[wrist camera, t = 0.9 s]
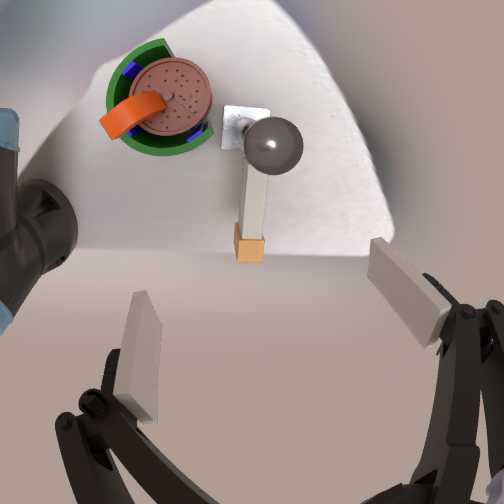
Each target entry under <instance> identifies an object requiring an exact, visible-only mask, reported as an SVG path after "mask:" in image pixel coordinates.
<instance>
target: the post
mask: <svg viewBox="0 0 504 504" xmlns="http://www.w3.org/2000/svg"><path fill="white" fill-rule="evenodd" d="M221 149H228V150H243V151H244V154H245V156H246V158H247V160H248V161H249V163H250V164H251V165H252V166H253V167H254V168H255V169H256V170H258V171H259V172H262V173H264V174H268V175H279V174H283V173H285V172H288V171H289V170H291V169H292V168H293V167H294V166H295V165H296V164H297V163H298V162H299V160H300V158H301V156H302V153H303V139H302V136H301V133H300V132H299V130H298V129H297V127H296V126H295V125H294V124H292V123H291V122H289V121H288V120H285V119H282V118H278V117H270V109H264V108H254V107H242V106H226V105H224V116H223V129H222V142H221Z"/></svg>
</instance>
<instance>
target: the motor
mask: <svg viewBox="0 0 504 504" xmlns="http://www.w3.org/2000/svg"><path fill="white" fill-rule="evenodd" d="M211 104H212V94H211V90H210V84H209V81H208V78H207V76H206V75H205V73H204V72H203V71H202V69H201V68H200V67H199V66H197V65H196V64H194V63H193V62H191V61H189V60H186V59H182V58H175V56H174V54H173V53H172V51H171V49H170V48H169V46H168V44H167V43H166V41H165V39H164V38H161V39H157V40H154V41H151V42H148V43H146V44H144V45H142V46H140V47H138V48H137V49H135V50H134V51H133V52H131V53H130V54H129V55H128V56H127V57H126V58H125V59H124V60H123V61H122V62H121V63H120V64H119V66H118V67H117V69H116V70H115V72H114V74H113V76H112V78H111V80H110V83H109V86H108V90H107V96H106V108H107V114H106V115H105V116H104V117H102V118H101V119H100V120H99V121H100V123H101V125H102V126H103V128H104V129H105V131H106V132H107V134H108V135H109V137H110V138H111V140H114V139H117V138H120V139H121V140H122V141H123V142H125V143H126V144H127V145H128V146H130V147H131V148H133V149H135V150H137V151H139V152H142V153H145V154H149V155H154V156H172V155H177V154H181V153H184V152H187V151H190V150H192V149H194V148H196V147H197V146H199V145H201V144H202V143H204V142H205V141H206V140H207V139H209V138H210V137H211V136H212V135H213V134H214V133H213V130H212V127H211V124H210V123H209V122H208V121H207V122H206V123H205V124H203V123H202V124H200V125H199V126H197V127H196V128H195V129H194V130H193V131H191V132H188V133H182V132H184V131H187V130H188V129H190V128H192V127H194V126H196V125H198V124H199V123H200V122H201V121H203V120H204V118H205V117H206V116H207V114H208V113H209V110H210V108H211Z"/></svg>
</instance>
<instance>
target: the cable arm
mask: <svg viewBox="0 0 504 504" xmlns="http://www.w3.org/2000/svg"><path fill="white" fill-rule="evenodd" d="M268 178H269V175H268V174H264V173H262V172H259V171H258V170H256V169H255V168H254V167H253V166H252V165H251V164H250V163H249V161H248V160H247V158H246V157H244V158H243V170H242V182H241V193H240V206H239V218H238V222H235V232H234V246H235V252H236V257H237V262H238V263H262V258H263V251H264V243H265V240H264V238H263V235H262V230H263V221H264V213H265V204H266V196H267V187H268Z"/></svg>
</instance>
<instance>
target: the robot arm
mask: <svg viewBox="0 0 504 504" xmlns="http://www.w3.org/2000/svg"><path fill="white" fill-rule="evenodd" d="M18 135H19V117H18V115H17V113H16V112H15V111H14V110H12V109H8V108H0V336H1V335H2V334H3V332H4V331H5V329H6V328H7V326H8V325H9V324H11V323H12V321H13V318H14V316H15V315H16V313H17V311H18V310H19V308H20V307H21V305H22V303H23V302H24V300H25V299H26V297H27V296H28V294H29V293H30V291H31V290H32V288H33V287H34V285H35V284H36V282H37V281H38V279H39V278H40V277H41V275H43V274H45V273H47V272H49V271H51V270H53V269H55V268H56V267H58V266H60V265H61V264H62V263H63V262H65V261H66V259H67V258H68V257H69V255H70V254H71V252H72V251H73V249H74V247H75V244H76V240H77V222H76V217H75V214H74V211H73V209H72V207H71V205H70V203H69V201H68V200H67V198H66V197H65V196H64V194H63V193H62V192H61V191H60V190H59V189H58V188H56V187H55V186H54V185H52V184H50V183H48V182H45V181H42V180H32V181H28V182H26V183H24V184H22V185H21V186H19V187H18V188H17V166H18V152H19V151H20V148H19V147H18V137H19V136H18ZM367 277H368V278H369V279H370V281H371V282H372V283H373V284H374V285H375V287H376V288H377V289H378V290H379V292H380V293H381V294H382V295H383V296H384V298H385V299H386V300H387V301H388V303H389V304H390V305H391V307H392V308H393V309H394V310H395V312H396V313H397V314H398V315H399V317H400V318H401V319H402V321H403V322H404V323H405V325H406V326H407V327H408V328H409V330H410V331H411V332H412V334H413V335H414V336H415V338H416V339H417V340H418V342H419V343H420V345H421V346H422V347H423V348H424V350H426V349H428V348H430V347H432V346H434V345H435V344H436V342H437V340H438V338H439V337H440V338H441V340H442V343H441V345H440V347H439V349H438V351H437V354H436V355H438V354H439V352H440V360H439V369H438V378H437V385H436V392H435V398H434V404H433V409H432V415H431V420H430V424H429V429H428V433H427V438H426V442H425V445H424V449H423V453H422V457H421V460H420V462H419V465H418V466H417V468H416V469H415V471H414V473H413V475H412V477H411V481H410V483H409V484H405V485H402V483H400V484H398V485H396V486H394V487H392V488H390V489H388V490H386V491H383V492H381V493H379V494H377V495H375V496H373V497H371V498H369V499H367V500H365V501H364V502H362V503H361V504H484V503H480V502H476V501H473V500H470V496H471V492H472V489H473V485H474V481H475V477H476V472H477V468H478V463H479V457H480V448H479V447H478V446H476V435H477V427H478V418H479V407H480V390H481V392H482V398H483V404H484V411H485V419H486V428H487V439H488V456H489V468H490V473H491V478H492V480H491V482H490V484H489V485H488V486H487V488H486V494H487V495H489V498H488V501H487V503H486V504H504V305H503V304H502V303H501V302H499V301H497V300H490V301H489V302H488V303H487V305H486V307H485V308H483V309H475V308H474V307H472V306H471V305H468V304H460V303H458V301H457V300H456V299H455V298H454V297H453V296H452V295H451V294H450V293H449V292H448V291H447V290H446V289H444V287H443V286H442V285H441V284H439V282H438V281H437V280H436V279H435V278H434V277H432V276H430V275H428V274H426V273H424V274H421V273H420V272H419V271H418V270H416V269H415V268H414V267H413V266H412V265H411V264H410V263H409V262H408V261H407V260H406V259H405V258H404V257H403V256H402V255H401V254H400V253H398V252H397V251H396V250H395V249H394V248H393V247H392V246H391V245H390V244H389V243H387V242H386V241H385V240H384V239H383V238H382V237H379V238H375V239H371V243H370V255H369V266H368V275H367ZM161 333H162V324H161V322H160V320H159V318H158V316H157V314H156V311H155V309H154V307H153V305H152V303H151V301H150V299H149V296H148V294H147V292H146V291H140V292H135V293H133V297H132V301H131V305H130V309H129V313H128V317H127V322H126V326H125V331H124V335H123V341H122V345H121V348H120V349H113V350H112V351H111V352H110V354H109V355H108V357H107V360H106V365H105V369H104V375H103V379H102V385H101V390H98V389H95V388H94V389H89V390H87V391H85V392H84V393H83V394H82V395H81V397H80V399H79V409H80V410H81V411H82V412H83V413H84V414H81V415H79V416H74V415H73V414H72V413H70V412H64V413H62V414H60V415H59V416H58V418H57V419H56V422H55V430H56V435H57V439H58V443H59V447H60V451H61V455H62V459H63V462H64V466H65V469H66V472H67V475H68V478H69V482H70V485H71V487H72V490H73V493H74V495H75V498H76V501H77V503H78V504H135V503H134V501H133V499H132V498H131V496H130V494H129V492H128V490H127V488H126V486H125V484H124V482H123V480H122V478H121V475H120V473H119V471H118V469H117V467H116V464H115V462H114V460H113V458H112V456H111V453H110V451H109V449H110V448H111V450H112V451H113V452H114V454H115V455H116V456H117V458H118V459H119V460H120V462H121V463H122V464H123V465H124V467H125V468H126V469H127V470H128V471H129V473H130V474H131V475H132V476H133V478H134V479H135V480H136V481H137V482H138V483H139V485H141V487H142V488H143V489H144V490H145V491H146V492H147V493H148V494H149V496H150V497H151V498H152V499H153V500H154V501H155V502H156V503H157V504H219V503H218V502H217V501H215V500H214V499H213V498H212V497H210V496H209V495H208V494H207V493H205V492H204V491H203V490H202V489H200V488H199V487H198V486H197V485H195V483H193V482H192V481H191V480H190V479H189V478H188V477H186V475H184V474H183V473H182V472H181V471H180V470H179V469H178V468H177V467H176V466H174V464H173V463H172V462H171V461H169V460H168V459H167V458H166V457H165V456H164V455H163V454H162V453H161V452H160V450H159V449H158V448H157V447H155V445H154V444H153V443H152V442H151V441H150V440H149V439H148V438H147V437H146V436H145V434H144V433H143V432H142V431H141V430H140V429H139V428H138V427H137V419H138V420H139V421H140V422H141V423H142V424H155V423H157V421H158V381H159V363H160V347H161ZM492 339H493V341H492Z"/></svg>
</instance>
